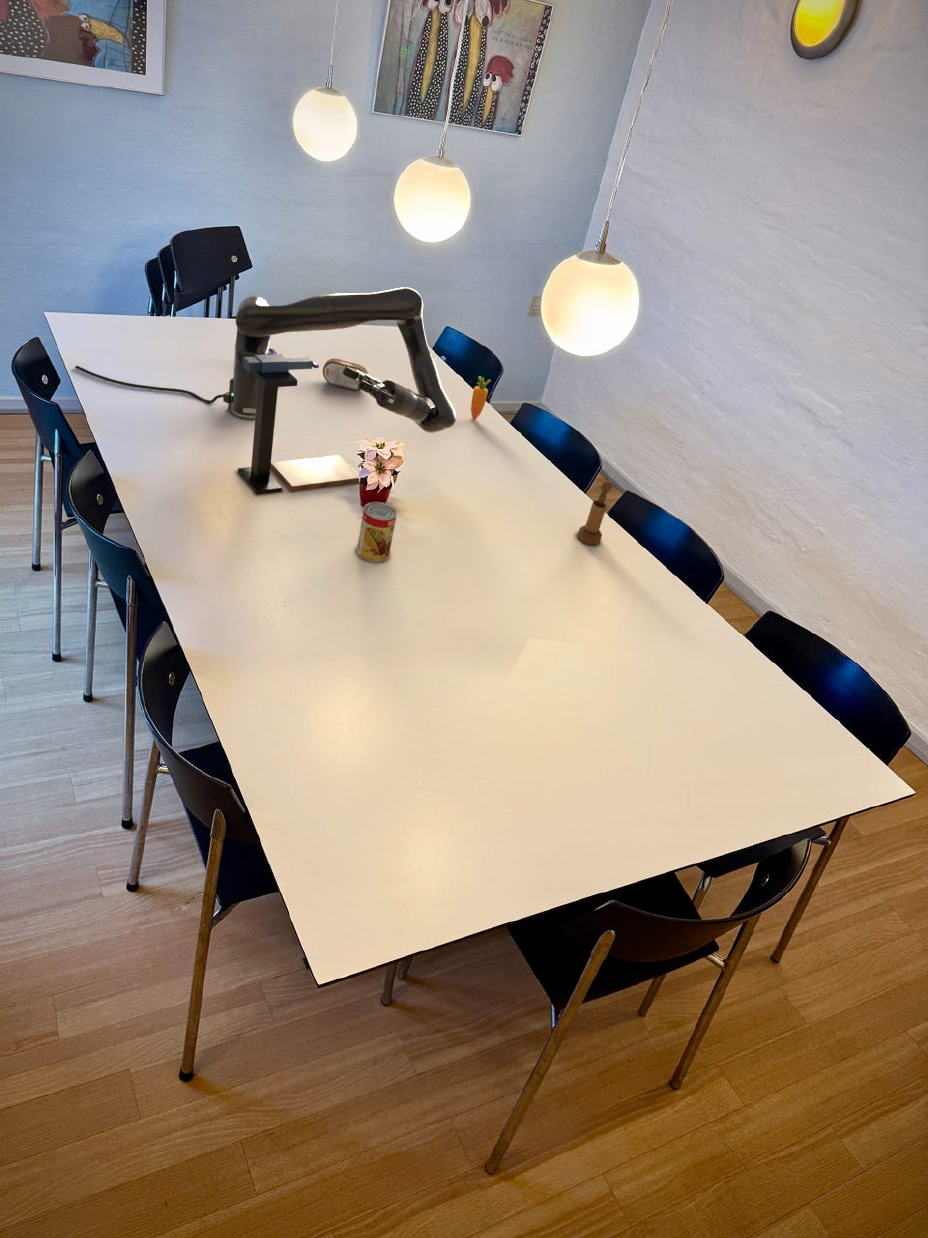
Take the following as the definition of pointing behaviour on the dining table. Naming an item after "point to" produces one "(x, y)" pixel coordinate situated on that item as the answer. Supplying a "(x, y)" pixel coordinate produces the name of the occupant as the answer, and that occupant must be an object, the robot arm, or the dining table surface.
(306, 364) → the stepped blue block
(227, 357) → the dining table surface
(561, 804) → the dining table surface
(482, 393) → the carrot
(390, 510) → the canned food
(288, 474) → the board
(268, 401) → the stand
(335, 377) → the tin
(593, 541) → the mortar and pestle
